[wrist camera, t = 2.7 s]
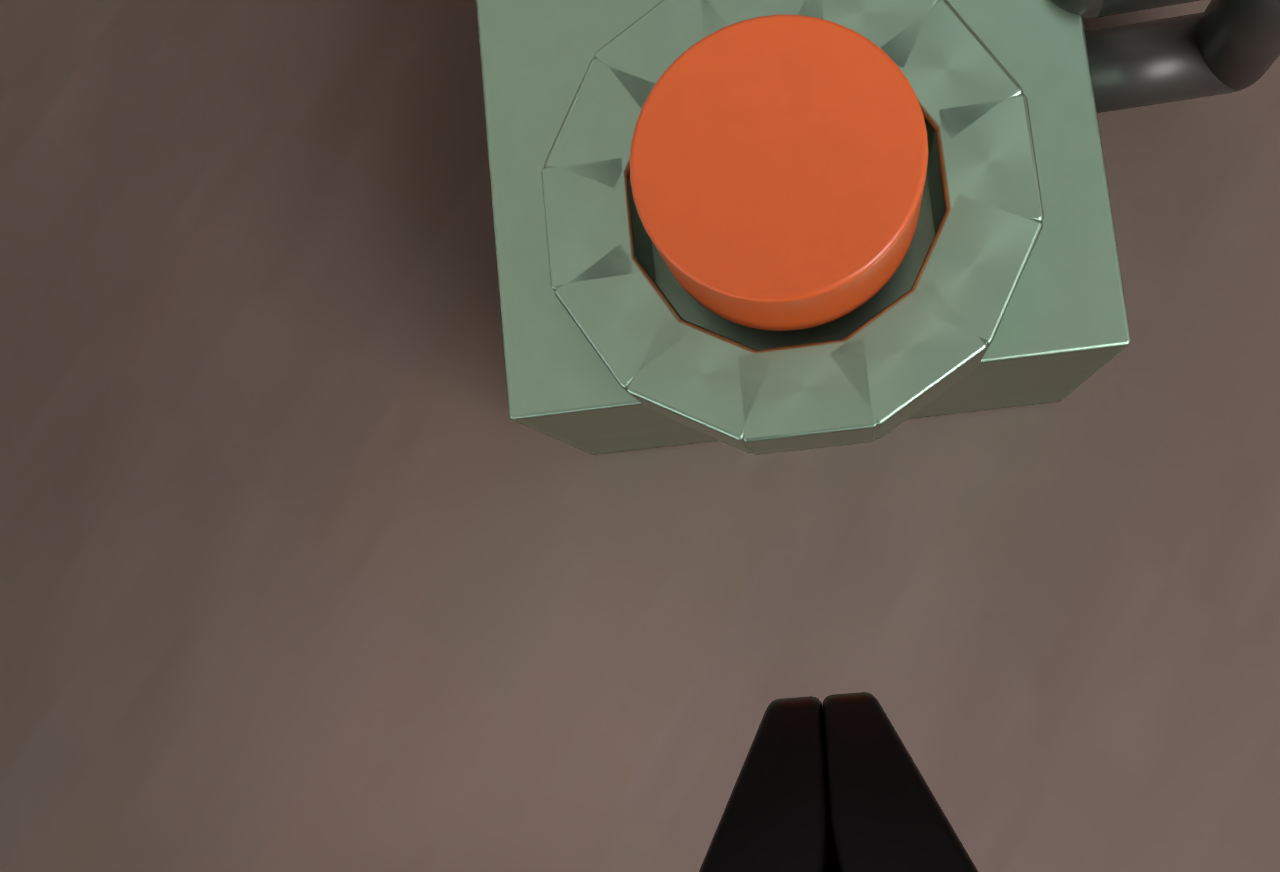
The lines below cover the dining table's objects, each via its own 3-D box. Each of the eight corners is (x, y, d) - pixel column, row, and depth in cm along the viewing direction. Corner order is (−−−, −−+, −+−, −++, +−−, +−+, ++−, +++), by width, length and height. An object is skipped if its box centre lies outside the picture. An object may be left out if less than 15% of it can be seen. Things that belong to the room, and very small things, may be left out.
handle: (1264, 99, 21) (1403, -61, 16) (1007, 137, 22) (1056, -2, 16) (1251, 24, 21) (1385, -159, 16) (997, 65, 22) (1043, -97, 16)
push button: (936, 313, 16) (947, 279, 14) (666, 348, 16) (642, 320, 14) (902, 53, 16) (909, -13, 14) (642, 97, 17) (615, 39, 15)
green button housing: (1069, 452, 22) (1178, 393, 15) (594, 503, 23) (475, 472, 16) (985, -147, 23) (1044, -474, 16) (544, -63, 25) (415, -328, 18)
